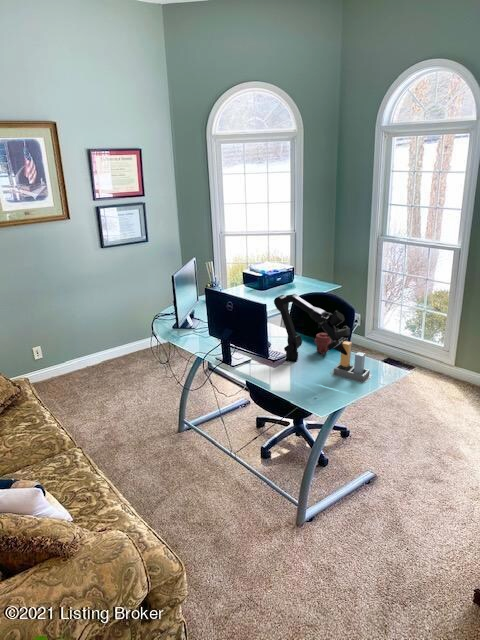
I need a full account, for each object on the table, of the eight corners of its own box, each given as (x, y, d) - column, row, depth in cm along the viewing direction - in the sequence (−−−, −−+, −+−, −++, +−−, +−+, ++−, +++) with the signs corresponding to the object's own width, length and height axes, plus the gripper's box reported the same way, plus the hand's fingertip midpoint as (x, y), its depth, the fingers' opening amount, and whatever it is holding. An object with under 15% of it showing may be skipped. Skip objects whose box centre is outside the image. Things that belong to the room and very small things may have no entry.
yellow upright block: (338, 365, 258) (340, 343, 254) (342, 361, 262) (344, 340, 258) (347, 367, 255) (349, 345, 251) (351, 364, 259) (353, 342, 255)
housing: (329, 374, 259) (330, 368, 258) (338, 366, 268) (339, 360, 267) (364, 384, 248) (365, 378, 247) (372, 375, 258) (373, 369, 256)
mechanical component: (329, 349, 292) (331, 355, 283) (313, 349, 292) (315, 355, 283) (330, 330, 288) (333, 336, 278) (314, 330, 288) (316, 336, 278)
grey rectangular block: (351, 376, 255) (353, 354, 251) (355, 372, 259) (357, 351, 255) (361, 379, 253) (363, 356, 248) (364, 375, 257) (366, 353, 252)
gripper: (334, 327, 245) (352, 352, 243) (348, 317, 260) (365, 340, 258) (319, 338, 252) (337, 362, 250) (333, 327, 267) (350, 350, 265)
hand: (348, 353), depth 255 cm, fingers closed on yellow upright block, 4 cm apart
